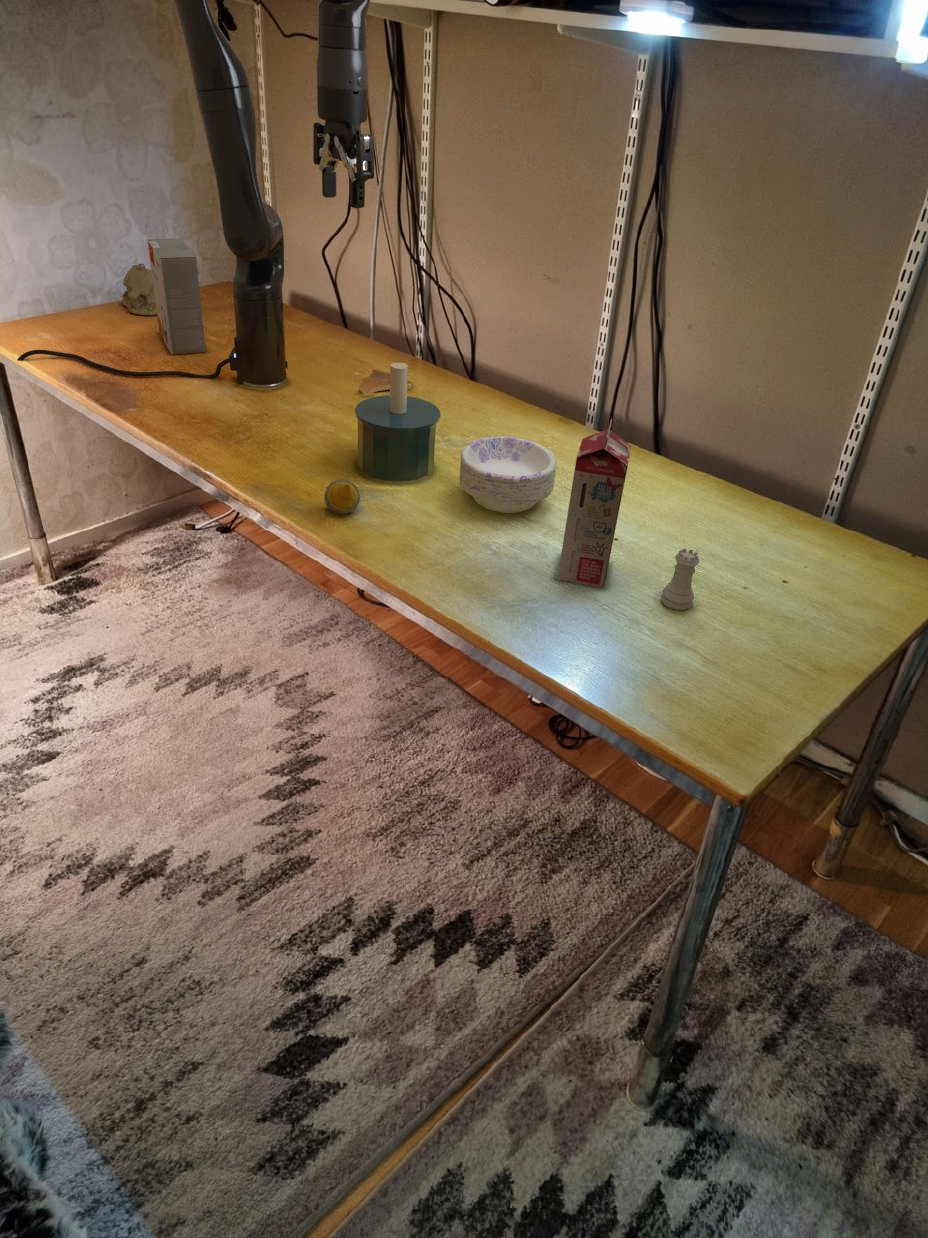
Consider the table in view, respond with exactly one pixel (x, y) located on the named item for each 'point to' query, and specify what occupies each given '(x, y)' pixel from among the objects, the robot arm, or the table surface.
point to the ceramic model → (139, 291)
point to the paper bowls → (507, 473)
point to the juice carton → (594, 508)
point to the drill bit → (342, 497)
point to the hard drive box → (177, 295)
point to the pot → (395, 453)
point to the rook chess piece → (681, 582)
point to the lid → (397, 406)
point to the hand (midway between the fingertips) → (343, 202)
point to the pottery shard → (378, 383)
